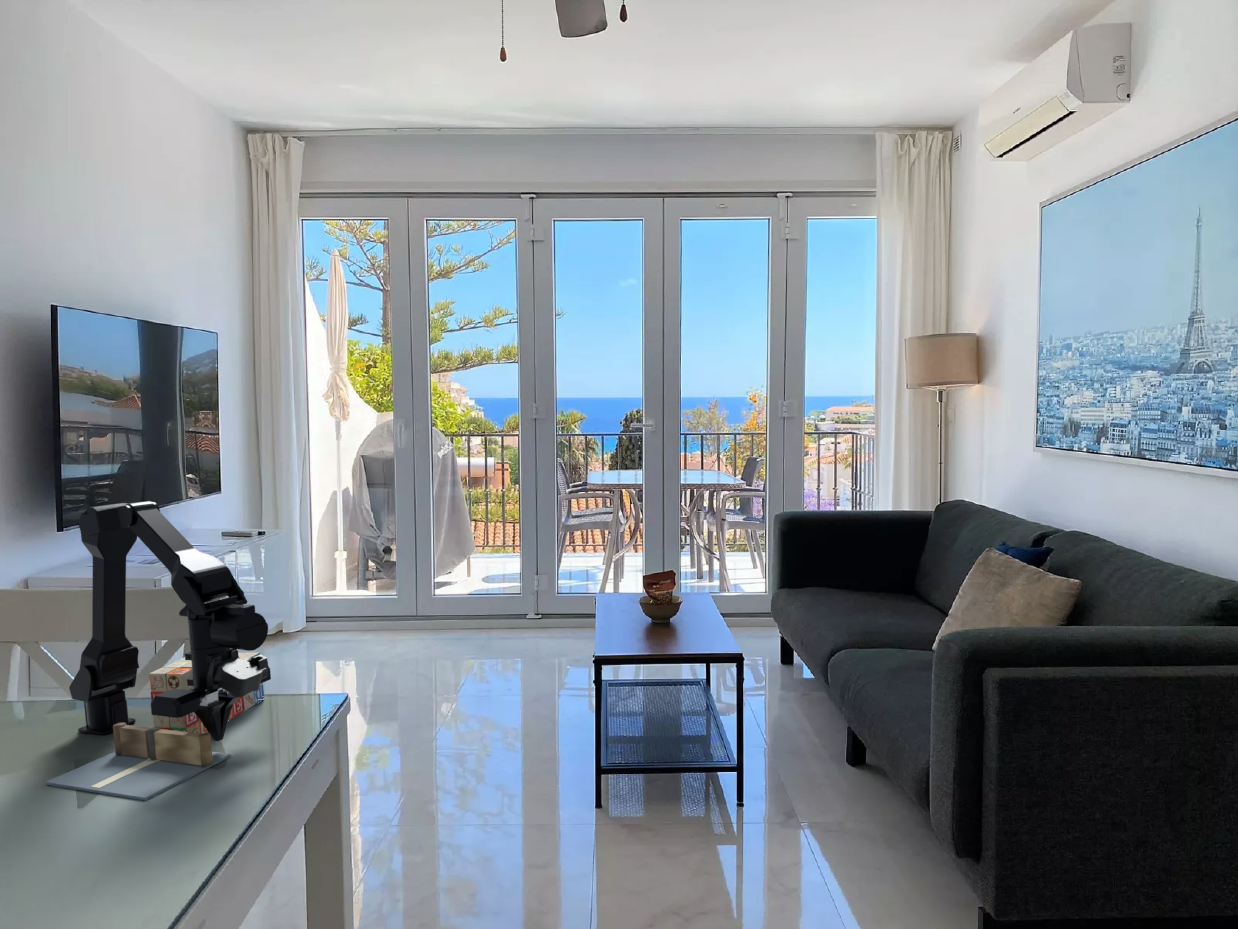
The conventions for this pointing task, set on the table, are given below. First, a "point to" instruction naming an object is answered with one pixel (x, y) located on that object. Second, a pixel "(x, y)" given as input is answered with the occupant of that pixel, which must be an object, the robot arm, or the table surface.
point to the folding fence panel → (180, 746)
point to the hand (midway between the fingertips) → (218, 740)
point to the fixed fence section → (131, 740)
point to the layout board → (130, 775)
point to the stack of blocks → (177, 679)
